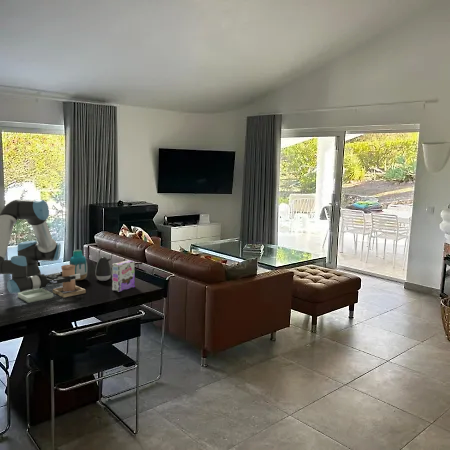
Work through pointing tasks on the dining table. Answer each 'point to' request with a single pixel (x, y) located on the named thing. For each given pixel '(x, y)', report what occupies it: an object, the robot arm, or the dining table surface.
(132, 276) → the candy box
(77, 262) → the vase
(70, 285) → the canister
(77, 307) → the dining table surface
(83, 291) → the oak corral
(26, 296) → the green tray
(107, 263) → the pump dispenser
